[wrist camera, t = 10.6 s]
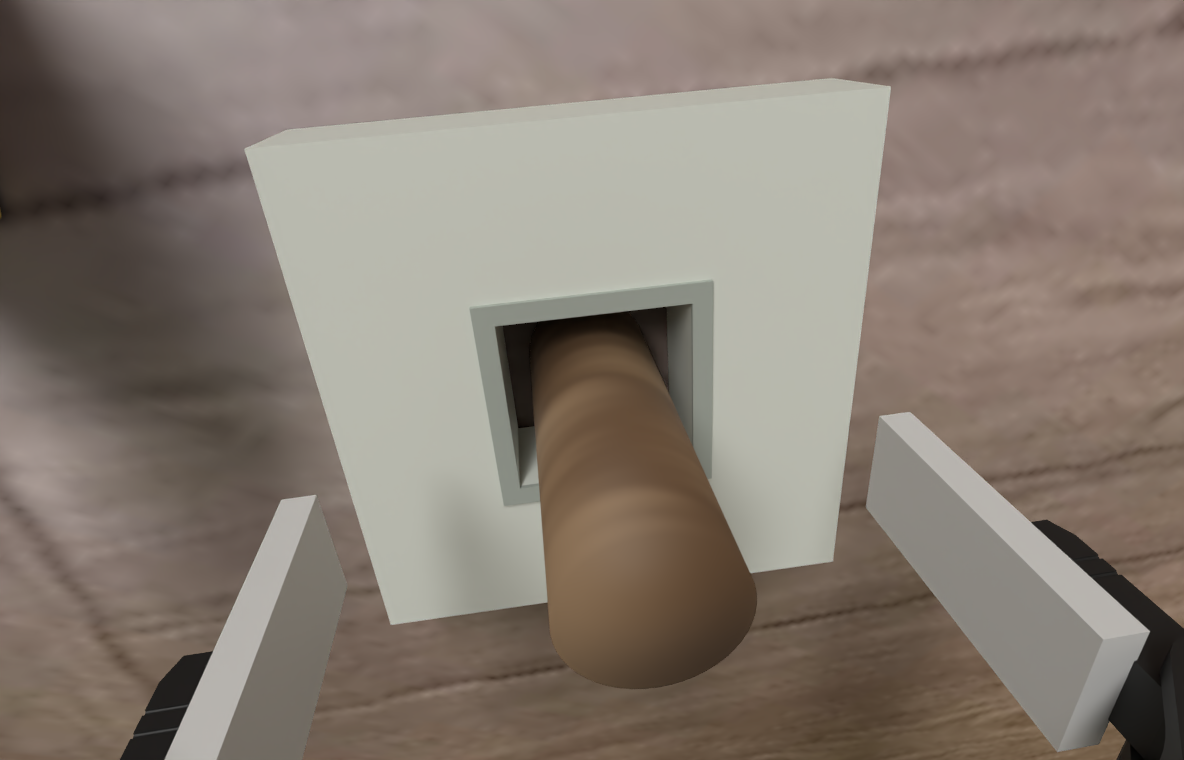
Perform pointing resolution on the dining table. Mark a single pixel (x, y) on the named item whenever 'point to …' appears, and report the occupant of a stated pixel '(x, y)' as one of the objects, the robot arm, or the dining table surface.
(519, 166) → the socket board
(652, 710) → the dining table surface
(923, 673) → the dining table surface
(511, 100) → the dining table surface
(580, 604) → the walnut peg
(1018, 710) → the dining table surface
